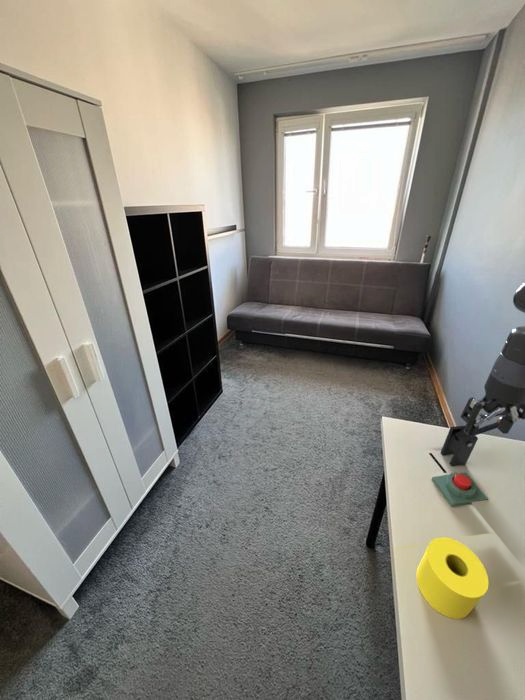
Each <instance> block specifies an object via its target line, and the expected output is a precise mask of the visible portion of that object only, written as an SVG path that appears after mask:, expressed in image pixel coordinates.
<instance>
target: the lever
mask: <svg viewBox="0 0 525 700" xmlns="http://www.w3.org/2000/svg"><path fill="white" fill-rule="evenodd" d="M502 417H503V416H498V418H497V419H496V420H495V421H496V422H493V423H490V424H487V425H483V426H481V427H479V428H478V430H477V432H476V434H475V436H477V435H480V434H483V433H484V434H485V433H486V432H489V431H493V430H495V429H498V428H497V426H498V424H499V422H500V420H501V419H502ZM461 437H468V435H467V434H466V433H465V432H464V430H462V431H460V432H457V433H455V439H456V440H457V441H458V442H459V441H460V438H461Z"/></svg>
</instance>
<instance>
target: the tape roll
mask: <svg viewBox="0 0 525 700" xmlns="http://www.w3.org/2000/svg"><path fill="white" fill-rule="evenodd" d="M415 574H416V575H415V576H416V577H415V578H416V583H417V586H418V589H419V590H420V593H421V595H422V596H423V598H424V599H425V601H426V602H427V603H428V604H429V606H431V608H433V609H434V610H435V611H436V612H437V613H439V614H441V615H443V616H445V617H446V618H449V619H454V620H461V619H464V618H465V617H467V616H468V615H469V614H470V613H471V611H472V610H473V609H474V608H475V607H476V605H477V604H478V603H479V601H480V600H481V599H482V597H483V596H484V595H486V593H487V591H488V588H489V575H488V573H487V570H486V568H485V566H484V564H483V562H482V561H481V560H480V558H479V557H478V556H477V554H476V553H474V552H473V550H471V548H469V547H467V546H466V545H464V543H462V542H460V541H459V540H456V539H454V538H450V537H446V536H441V537H440V536H439V537H436V538H433V539H432V540H431V541H430V542H429V544H428V546H427V548H426V550H425V552H424V554H423V557H422V558H421V560H420V562H419V564H418V566H417V569H416V572H415Z"/></svg>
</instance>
